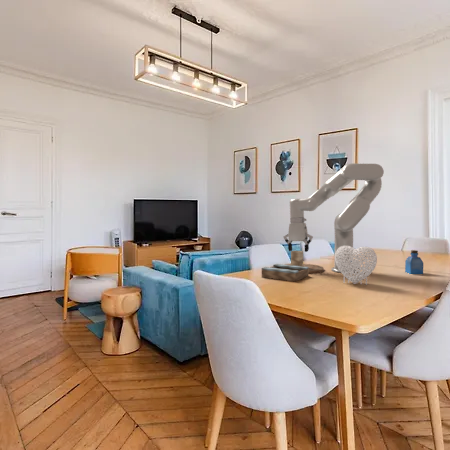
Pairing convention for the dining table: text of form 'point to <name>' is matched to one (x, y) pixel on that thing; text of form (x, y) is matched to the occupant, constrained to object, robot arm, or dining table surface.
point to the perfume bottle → (414, 263)
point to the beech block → (297, 258)
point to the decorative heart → (355, 263)
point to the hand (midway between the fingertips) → (298, 251)
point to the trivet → (312, 268)
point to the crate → (285, 272)
